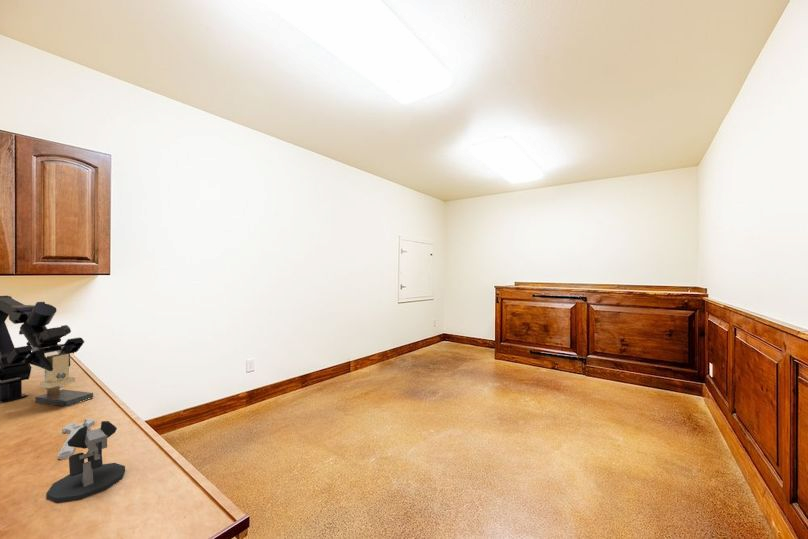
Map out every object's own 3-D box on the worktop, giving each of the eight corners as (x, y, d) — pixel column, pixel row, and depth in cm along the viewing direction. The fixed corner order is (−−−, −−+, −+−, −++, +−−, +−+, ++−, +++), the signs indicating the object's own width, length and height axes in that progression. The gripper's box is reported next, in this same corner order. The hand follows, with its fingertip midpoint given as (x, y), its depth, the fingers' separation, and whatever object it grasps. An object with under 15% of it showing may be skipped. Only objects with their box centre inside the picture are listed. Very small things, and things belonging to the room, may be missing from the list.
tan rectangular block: (39, 387, 114) (39, 357, 114) (64, 380, 121) (64, 352, 121) (50, 388, 113) (50, 358, 113) (75, 381, 119) (75, 353, 120)
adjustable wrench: (71, 460, 84) (71, 453, 84) (34, 468, 81) (34, 461, 81) (96, 422, 105) (96, 416, 105) (67, 427, 102) (67, 421, 102)
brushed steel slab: (35, 402, 121) (35, 388, 121) (63, 394, 129) (63, 381, 129) (66, 406, 117) (66, 392, 117) (93, 398, 125) (92, 384, 125)
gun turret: (112, 451, 87) (112, 401, 87) (132, 481, 74) (132, 422, 74) (40, 474, 77) (40, 418, 77) (49, 513, 64) (49, 446, 65)
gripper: (12, 323, 109) (37, 359, 106) (80, 315, 127) (103, 346, 124) (-4, 346, 111) (19, 382, 108) (65, 335, 129) (87, 366, 126)
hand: (60, 368), depth 116 cm, fingers closed on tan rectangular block, 4 cm apart
